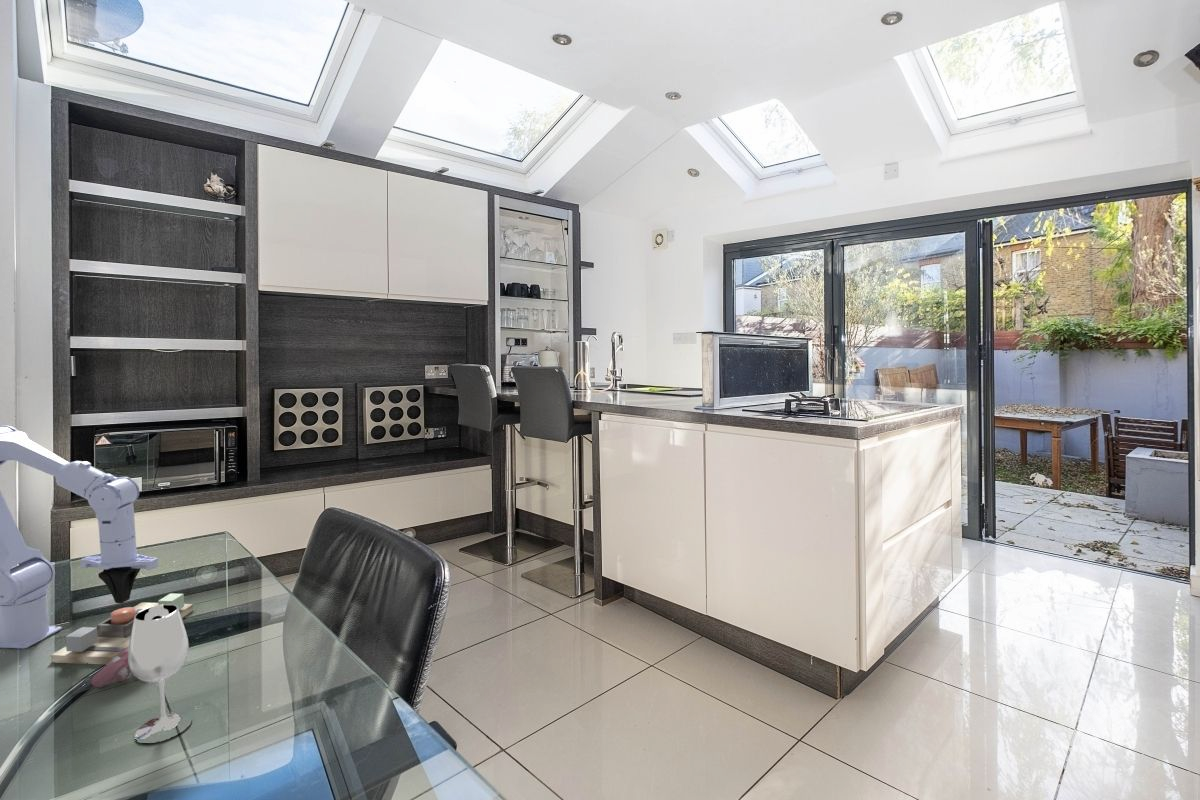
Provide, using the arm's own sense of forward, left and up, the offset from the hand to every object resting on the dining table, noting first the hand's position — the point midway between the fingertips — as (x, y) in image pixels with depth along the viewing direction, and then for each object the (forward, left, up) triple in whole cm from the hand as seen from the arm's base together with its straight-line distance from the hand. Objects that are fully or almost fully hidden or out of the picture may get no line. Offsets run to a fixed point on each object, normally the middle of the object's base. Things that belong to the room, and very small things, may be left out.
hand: (122, 601), depth 121 cm
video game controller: (+12, -13, -8) cm, 19 cm away
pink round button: (0, 0, -5) cm, 5 cm away
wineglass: (+29, -27, -8) cm, 40 cm away
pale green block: (+4, +8, -6) cm, 11 cm away
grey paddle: (-2, -8, -6) cm, 10 cm away
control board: (0, +1, -8) cm, 8 cm away
